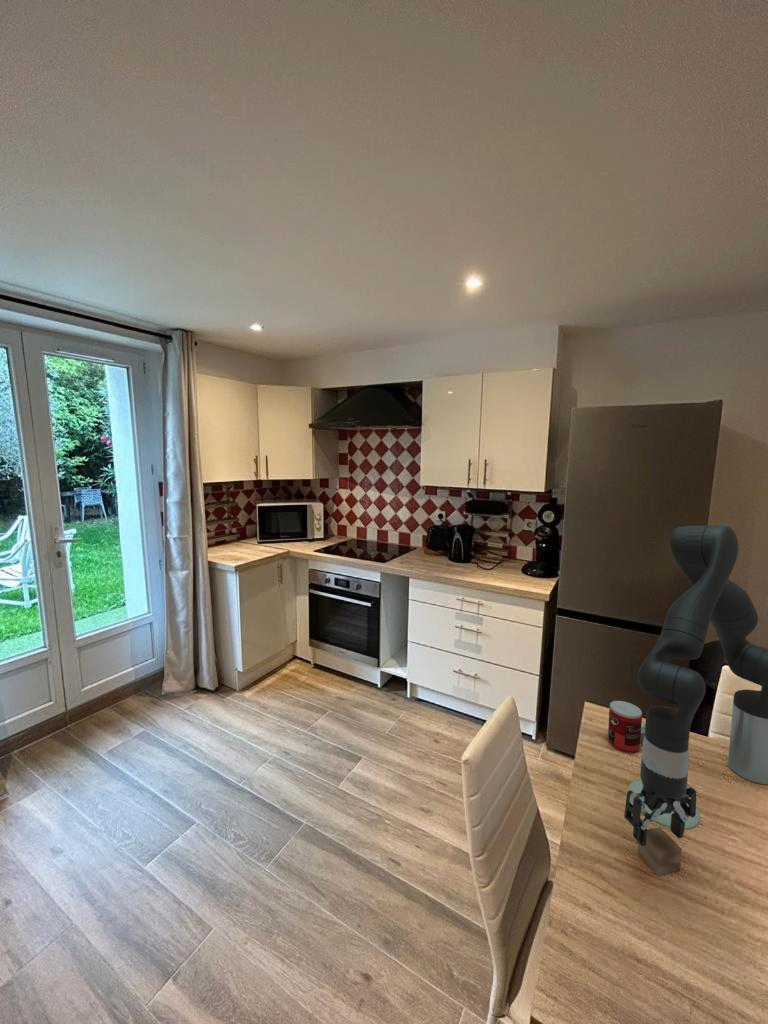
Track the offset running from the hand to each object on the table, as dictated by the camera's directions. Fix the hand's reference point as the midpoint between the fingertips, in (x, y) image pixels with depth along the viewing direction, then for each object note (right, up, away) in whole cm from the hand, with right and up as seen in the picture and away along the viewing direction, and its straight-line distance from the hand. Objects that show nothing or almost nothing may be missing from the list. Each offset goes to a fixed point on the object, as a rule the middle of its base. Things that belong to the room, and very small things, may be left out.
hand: (658, 838), depth 83 cm
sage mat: (+11, -4, +15) cm, 19 cm away
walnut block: (0, -5, +1) cm, 5 cm away
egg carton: (+24, -1, +37) cm, 44 cm away
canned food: (+14, -1, +36) cm, 38 cm away
